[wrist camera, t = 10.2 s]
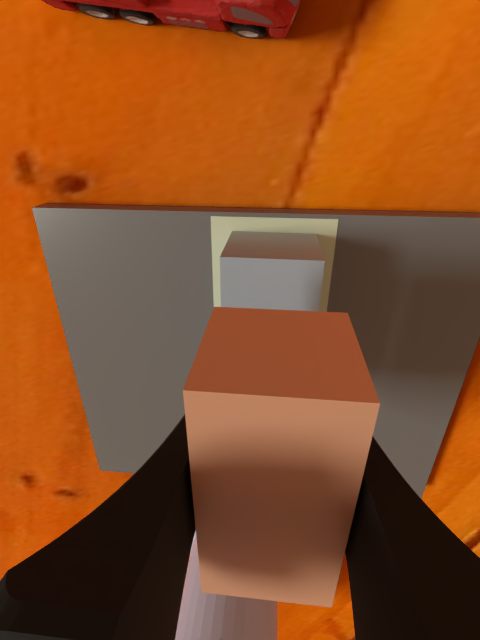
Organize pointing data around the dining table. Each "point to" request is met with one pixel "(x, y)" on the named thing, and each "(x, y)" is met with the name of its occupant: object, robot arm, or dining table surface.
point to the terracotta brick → (277, 450)
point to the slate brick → (271, 271)
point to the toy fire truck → (197, 13)
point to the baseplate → (204, 294)
